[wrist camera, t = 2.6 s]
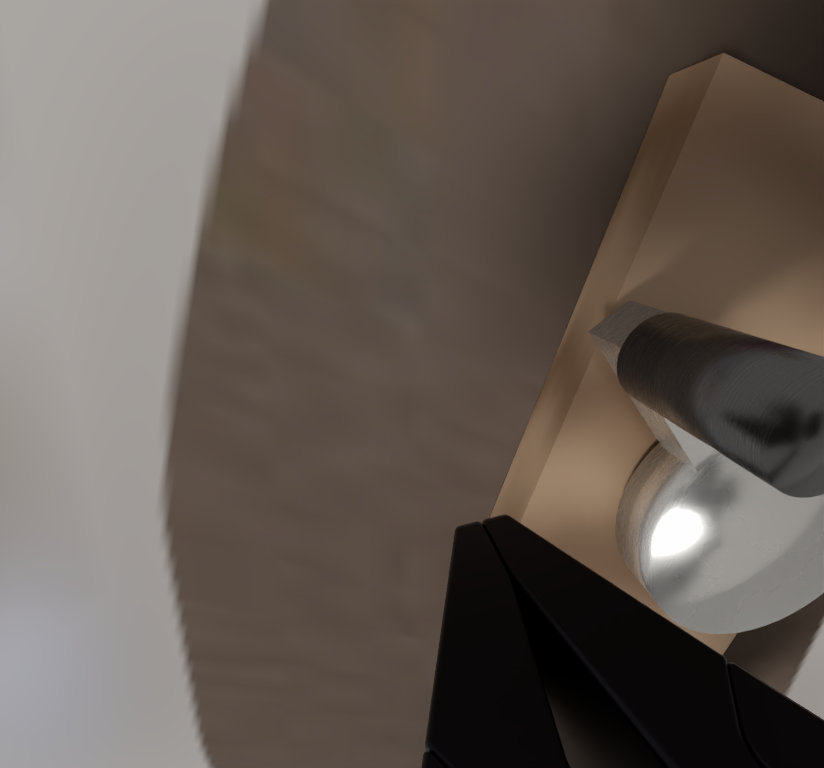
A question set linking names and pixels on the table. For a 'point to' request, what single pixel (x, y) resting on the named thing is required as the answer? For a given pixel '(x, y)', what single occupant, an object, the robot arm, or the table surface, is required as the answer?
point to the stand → (678, 290)
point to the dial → (720, 469)
